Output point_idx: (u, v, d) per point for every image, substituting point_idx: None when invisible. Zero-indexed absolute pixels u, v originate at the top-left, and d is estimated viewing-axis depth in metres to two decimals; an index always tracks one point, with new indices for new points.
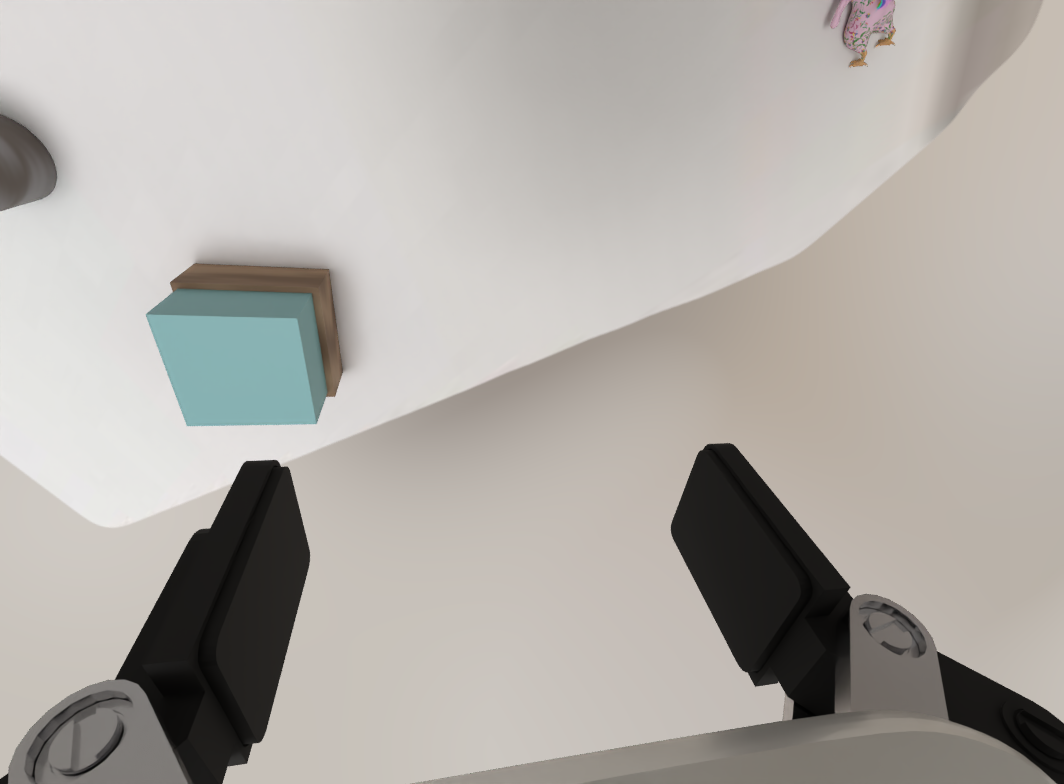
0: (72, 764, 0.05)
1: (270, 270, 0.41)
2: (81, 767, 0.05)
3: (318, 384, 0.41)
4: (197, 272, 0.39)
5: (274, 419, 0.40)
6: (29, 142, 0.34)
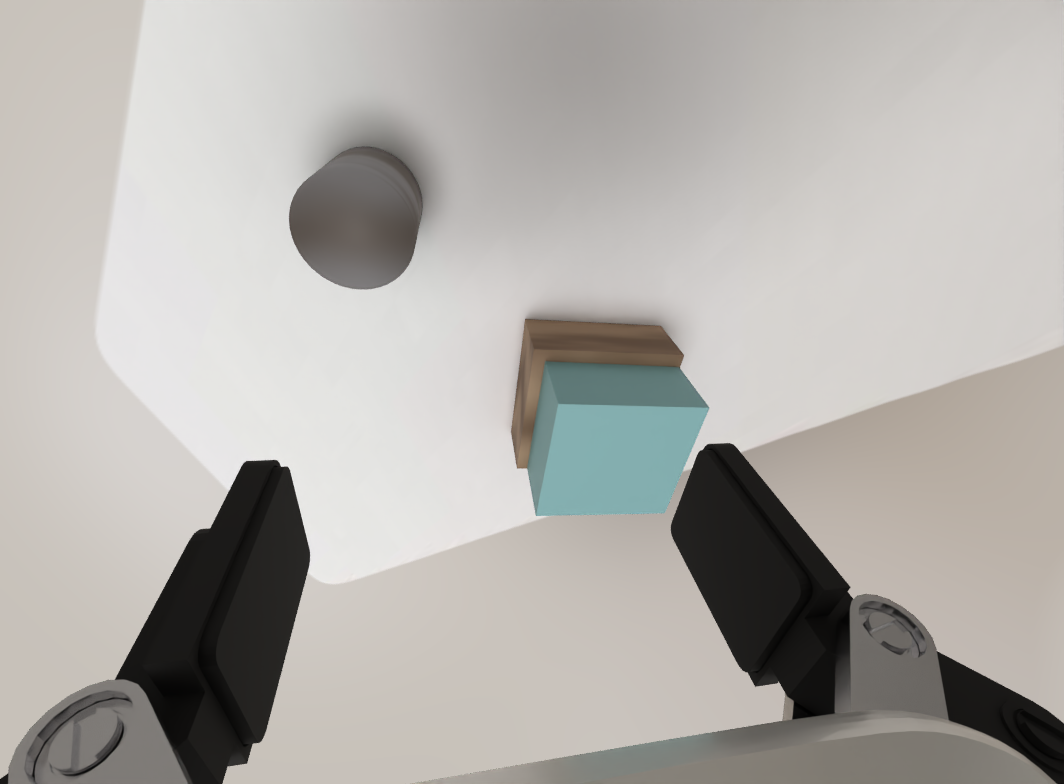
0: (72, 764, 0.05)
1: (608, 329, 0.36)
2: (81, 767, 0.05)
3: None
4: (543, 333, 0.34)
5: (626, 508, 0.35)
6: (415, 185, 0.28)
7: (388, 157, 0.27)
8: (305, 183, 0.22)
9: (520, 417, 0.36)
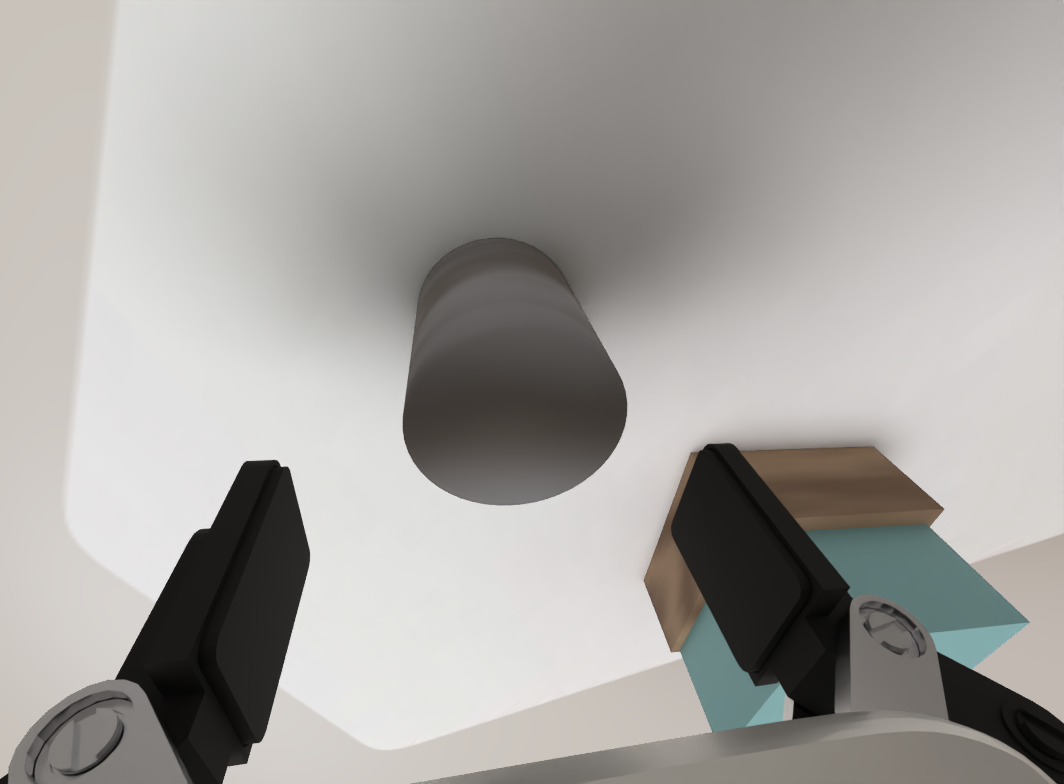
0: (72, 764, 0.05)
1: (811, 461, 0.24)
2: (81, 767, 0.05)
3: None
4: None
5: None
6: None
7: (538, 258, 0.16)
8: (442, 357, 0.11)
9: (680, 587, 0.25)
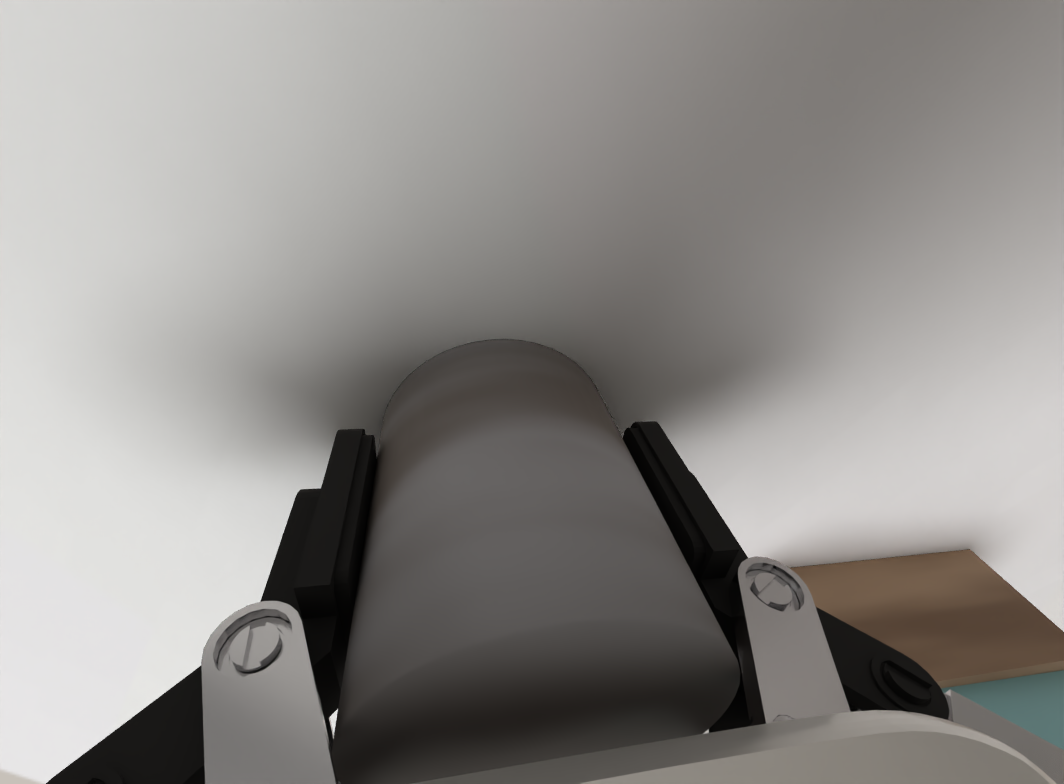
0: (243, 663, 0.06)
1: (903, 581, 0.19)
2: (248, 668, 0.06)
3: None
4: None
5: None
6: None
7: (562, 376, 0.10)
8: (400, 683, 0.05)
9: None
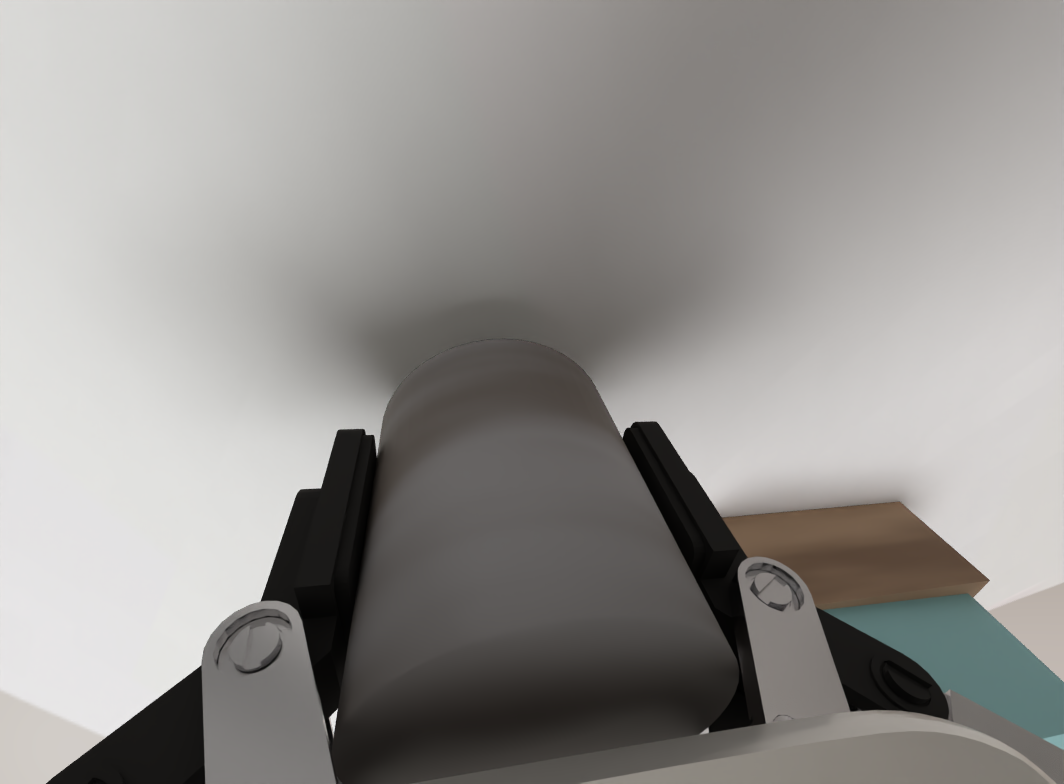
0: (244, 662, 0.06)
1: (835, 524, 0.22)
2: (248, 667, 0.06)
3: None
4: (748, 555, 0.20)
5: None
6: None
7: (562, 375, 0.10)
8: (400, 681, 0.05)
9: None
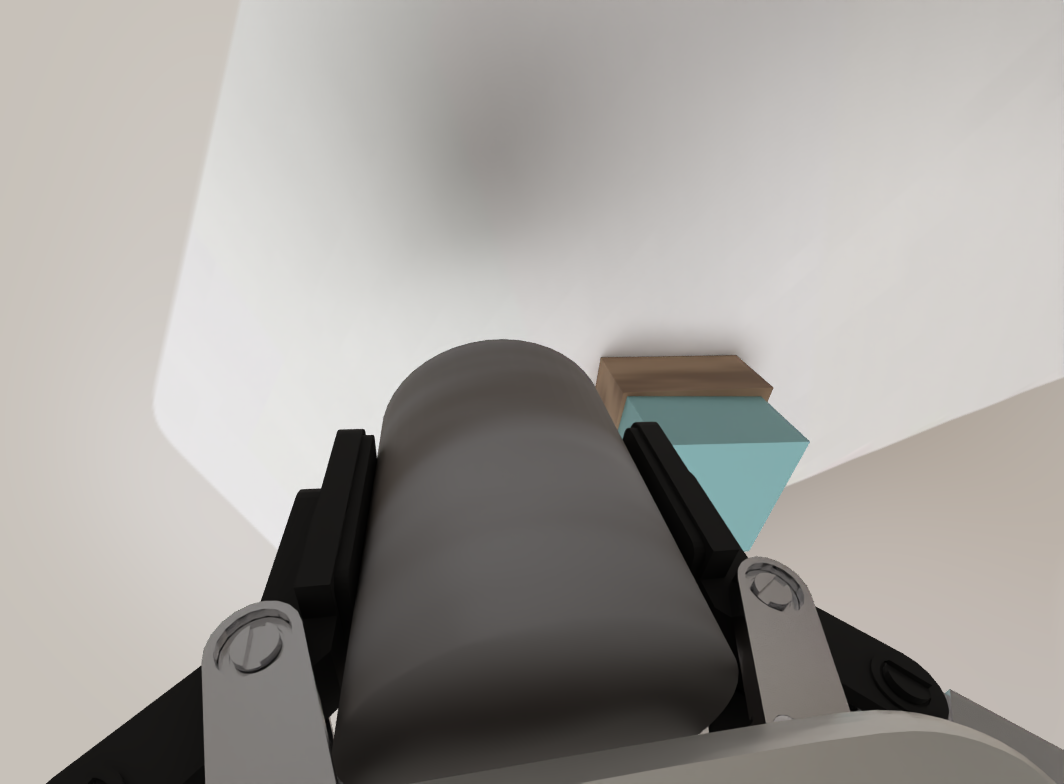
0: (243, 662, 0.06)
1: (687, 363, 0.34)
2: (248, 667, 0.06)
3: None
4: (624, 372, 0.32)
5: None
6: None
7: (562, 376, 0.10)
8: (400, 681, 0.05)
9: None
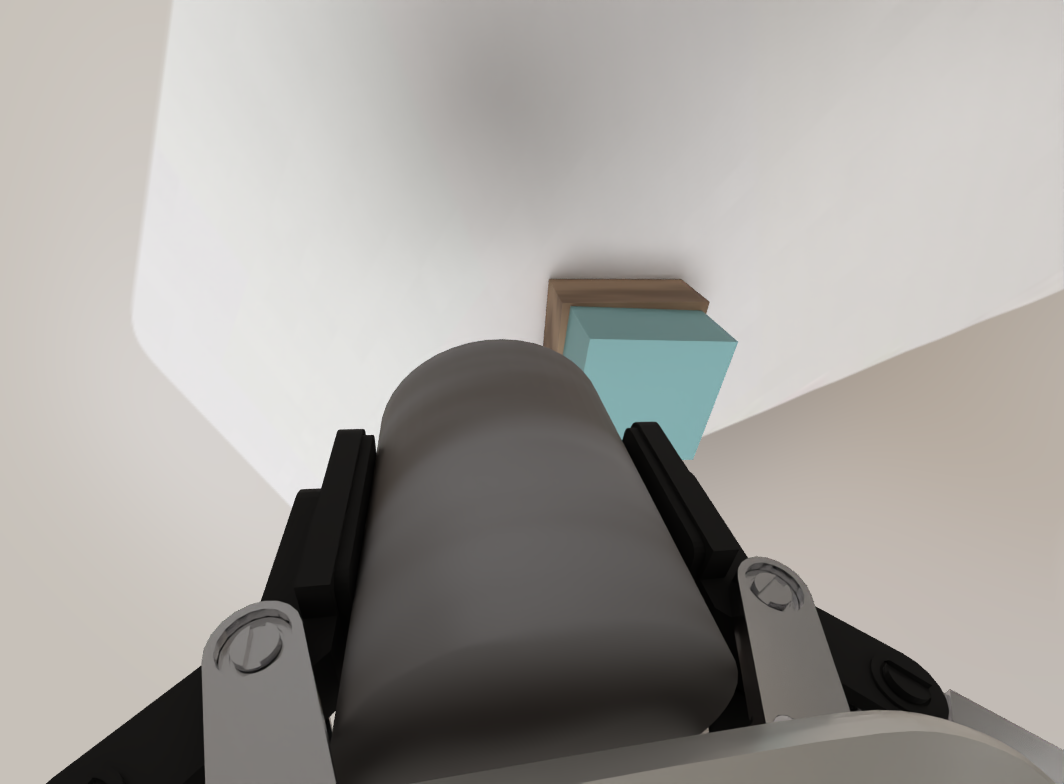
0: (244, 662, 0.06)
1: (631, 284, 0.36)
2: (248, 667, 0.06)
3: None
4: (568, 289, 0.34)
5: None
6: None
7: (561, 376, 0.10)
8: (397, 683, 0.05)
9: None
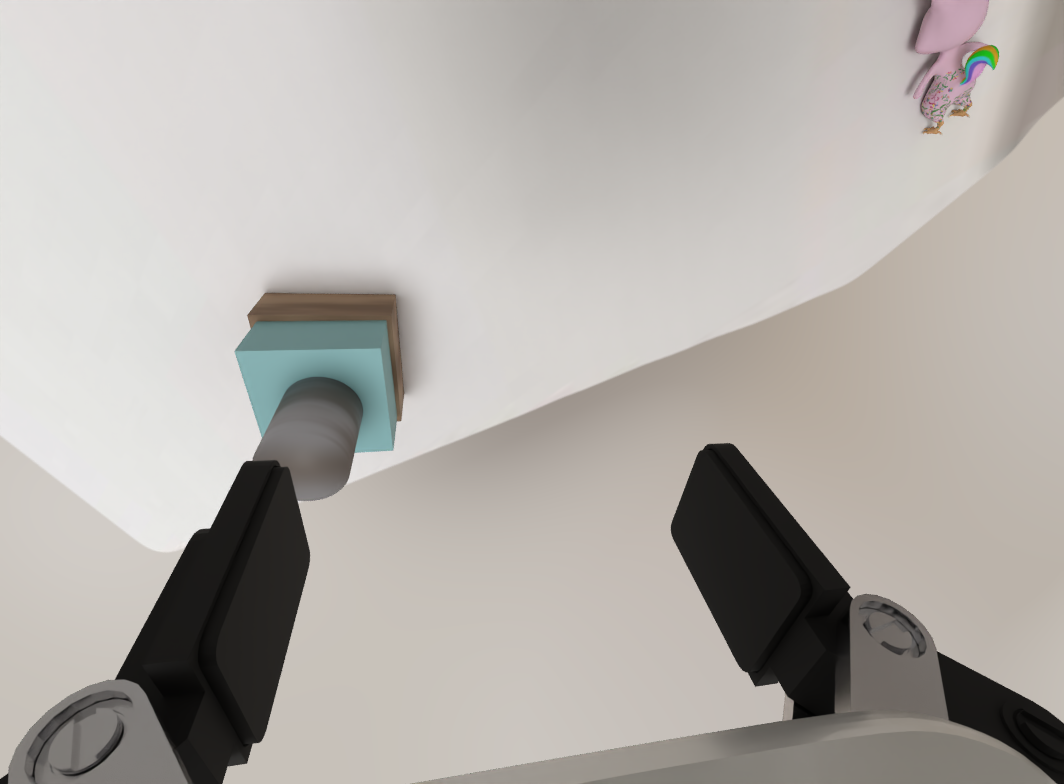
0: (72, 764, 0.05)
1: (339, 298, 0.41)
2: (80, 768, 0.05)
3: (392, 410, 0.41)
4: (270, 303, 0.39)
5: None
6: (354, 401, 0.36)
7: (330, 387, 0.35)
8: (262, 445, 0.30)
9: None
